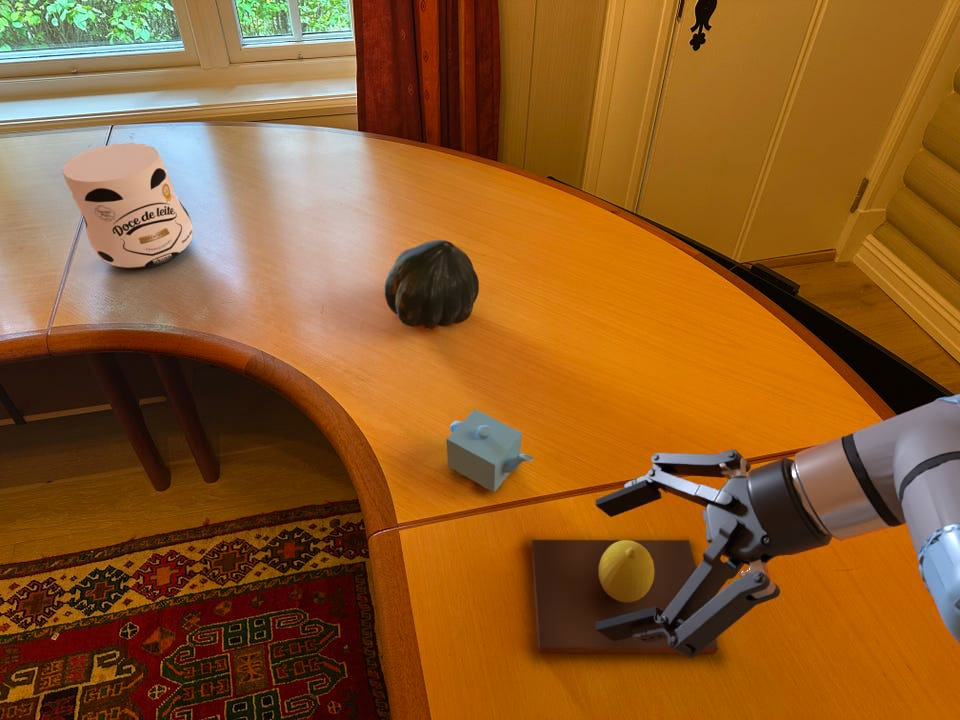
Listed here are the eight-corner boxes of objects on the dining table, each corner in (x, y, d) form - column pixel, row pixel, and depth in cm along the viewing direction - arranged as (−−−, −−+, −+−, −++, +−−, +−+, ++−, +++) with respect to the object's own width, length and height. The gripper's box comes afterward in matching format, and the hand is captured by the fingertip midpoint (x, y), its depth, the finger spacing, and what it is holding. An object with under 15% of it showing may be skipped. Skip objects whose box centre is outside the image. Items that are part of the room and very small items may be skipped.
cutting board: (686, 546, 70) (689, 540, 69) (715, 653, 62) (719, 648, 61) (531, 546, 70) (532, 539, 69) (538, 653, 62) (539, 647, 61)
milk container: (167, 282, 108) (127, 189, 96) (80, 272, 111) (30, 180, 98) (214, 231, 121) (184, 144, 108) (136, 223, 123) (97, 136, 111)
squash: (364, 272, 101) (387, 240, 88) (441, 248, 108) (473, 215, 94) (397, 350, 101) (424, 330, 87) (472, 321, 107) (509, 299, 94)
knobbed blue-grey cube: (542, 476, 78) (546, 438, 72) (517, 510, 74) (519, 473, 69) (465, 435, 83) (464, 397, 77) (438, 465, 79) (435, 427, 74)
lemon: (616, 556, 68) (628, 517, 62) (656, 592, 65) (673, 554, 59) (583, 586, 65) (592, 548, 60) (623, 626, 62) (636, 589, 57)
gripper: (884, 672, 43) (631, 711, 54) (797, 411, 61) (621, 483, 72) (835, 630, 40) (578, 681, 51) (759, 368, 58) (582, 450, 69)
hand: (603, 565), depth 62 cm, fingers open, 13 cm apart
